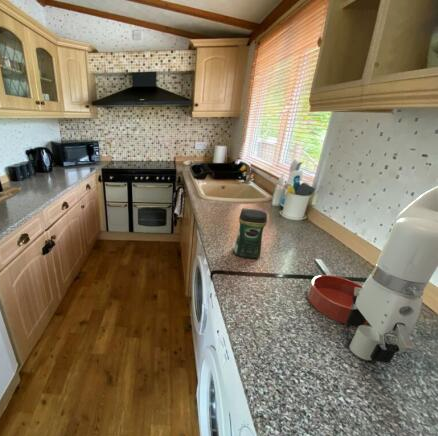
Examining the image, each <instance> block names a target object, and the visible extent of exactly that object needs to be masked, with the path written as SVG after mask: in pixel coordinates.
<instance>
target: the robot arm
mask: <svg viewBox="0 0 438 436" xmlns="http://www.w3.org/2000/svg"><path fill="white" fill-rule="evenodd" d="M437 268H438V186H435V187H433V188H431V189H429V190H427V191H425V192H424V193H423V194H421V195H420V196H419V197H417V198H416V199H415V200H413V201H412V202H410V204H408V205H407V206H406V207H405V208H403V209H402V211H400V212H399V214H397V216H396V217H395V218H394V220H393V223H392V228H391V230H390V232H389V234H388V236H387V238H386V241H385V243H384V245H383V248H382V249H381V252H380V254H379V256H378V258H377V261H376V262H375V265H374V267H373V268H372V272H371V273H370V274H369V276H368V277H367V278H366V280H365V282H364V283H363V284H362V285H361V286H362V288H357V287H355V288H354V296H353V297H352V299H353V304H352V305H351V308H352V310H351V312H350V314H349V317H348V319H347V321H346V322H347V324H346V325H348V324H349V326H355V327H358V326H360V325H363V324H364V322H365V320H367V321H368V322H369V324H368V325H369V326H370V327H372V328H373V329H374V330H375V331H376V332H377V333H378V334H379V339H380V344H377V345H376V346H375V348H374V350H373V352H372V354H371V356H370V358H371V359H372V360H371V361H375V362H379V363H385V364H389V363H391V361H392V359H393V357H394V356H395V354H396V353H401V354H406V353H408V352H412V351H413V350H414V349H415V347H414V345H413V341H412V340H411V338H410V335H411V334H412V332H413V330H414V328H415V326H416V323H417V321H418V319H419V316H420V313H421V309H422V305H423V298H422V296H424V291H425V290H426V287H427V286H428V284H429V282H430V280H431V279H432V278H433V277H432V276H433V275H434V273H435V272H436V270H437ZM387 337H389V338H391V342H392V343H388V338H387Z"/></svg>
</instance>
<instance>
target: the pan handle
mask: <svg viewBox="0 0 438 436" xmlns="http://www.w3.org/2000/svg"><path fill="white" fill-rule="evenodd" d="M313 263H314V264H315V266H316V267H317V269H318V270H319V271H320V273H321V275H332V276H334V274H333V273H332V272H331V270H330V269H329V268H328V267H327V265H326V264H325V263H324V261H323V260H322V259H320V258H314V260H313Z"/></svg>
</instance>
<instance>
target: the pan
mask: <svg viewBox="0 0 438 436" xmlns="http://www.w3.org/2000/svg"><path fill="white" fill-rule="evenodd" d="M362 286H363V285H361V284H359V283H357V282H355V281H353V280H350V279H348V278H345V277H341V276H338V275H333V276H332V275H323V274H320V275H315V276H314V277H313V278H312V279H311V282H310V285H309V287H308V291H307V300H308V301H309V303H310V304H311V306H312V307H313V308H314V309H315V310H317V311H318V312H320V313H321V315H324V316H325V317H327V318H329V319H331V320H334V321H336V322H338V323H342V324H344V325H349V324H347V322H346V321H347V319H348V317H349V314H350V312H351V310H352V308H351V305H352V304H353V299H352V297H353V296H354V288H355V287H357V288H362ZM363 325H366V326H368V325H370V324H369V322H368V321H367V320H365V322H364V324H363ZM349 326H350V325H349Z"/></svg>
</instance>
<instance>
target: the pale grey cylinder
mask: <svg viewBox="0 0 438 436" xmlns="http://www.w3.org/2000/svg"><path fill="white" fill-rule="evenodd" d="M377 344H380V339H379V334H378V333H377V332H376V331H375V330H374V329H373V327H372V326H371V325H360V326H357V329H356V331H355V332H354V335H353V336H352V339H351V341H350V344H349V350H350V352H351V353H353V354H354V355H355V356H356V357H358V358H359V359H362V360H363V361H364V360H365V361H373V360H372V359H371V358H370V356H371V354H372V352H373V350H374V348H375V346H376V345H377Z"/></svg>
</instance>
